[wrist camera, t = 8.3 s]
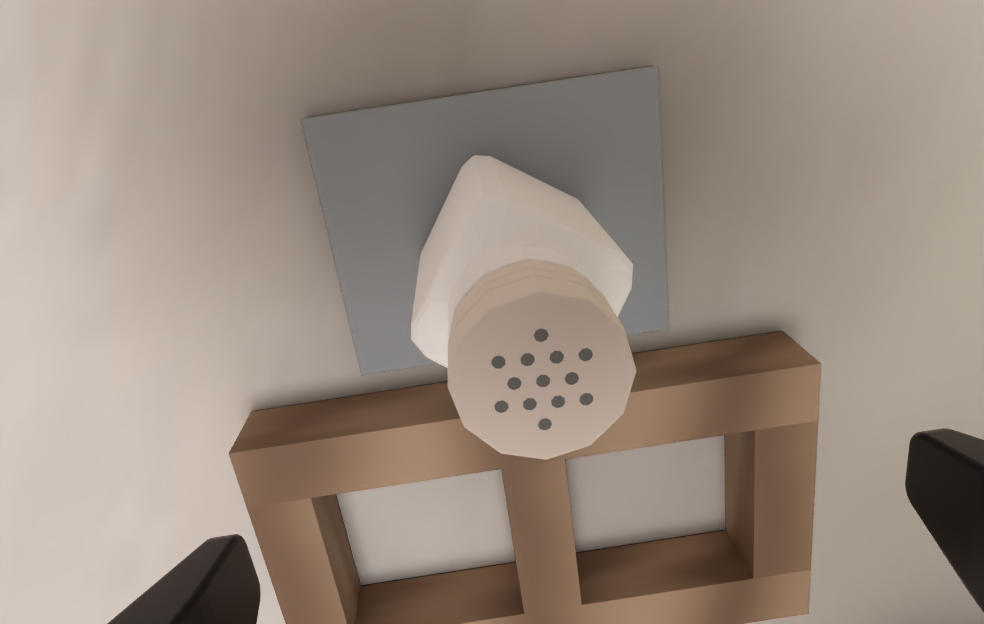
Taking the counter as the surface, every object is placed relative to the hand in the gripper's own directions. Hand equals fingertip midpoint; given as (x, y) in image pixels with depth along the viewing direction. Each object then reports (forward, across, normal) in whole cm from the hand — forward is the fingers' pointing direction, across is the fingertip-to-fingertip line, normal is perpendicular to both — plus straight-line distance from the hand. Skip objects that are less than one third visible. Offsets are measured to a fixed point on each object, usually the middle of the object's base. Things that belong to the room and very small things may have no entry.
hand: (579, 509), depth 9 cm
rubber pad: (+13, 0, -1) cm, 13 cm away
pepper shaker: (+12, 0, -1) cm, 12 cm away
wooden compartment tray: (+13, 0, +9) cm, 16 cm away
